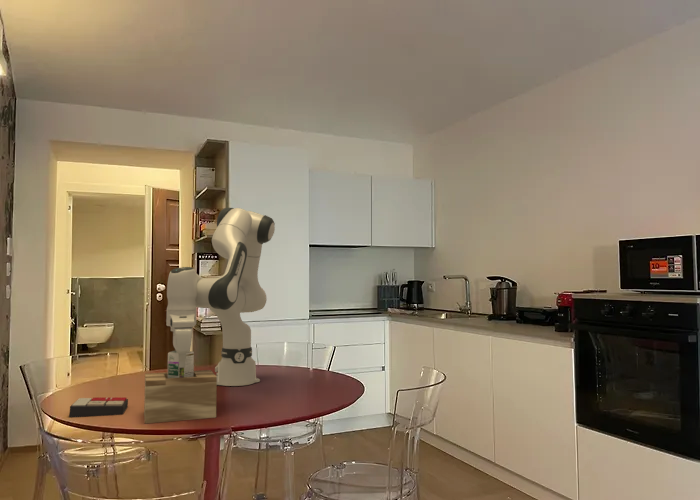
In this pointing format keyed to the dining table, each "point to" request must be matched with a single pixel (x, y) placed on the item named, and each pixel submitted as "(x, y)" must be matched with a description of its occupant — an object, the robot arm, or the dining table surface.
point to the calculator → (98, 406)
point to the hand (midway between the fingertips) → (180, 365)
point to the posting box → (179, 397)
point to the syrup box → (175, 370)
